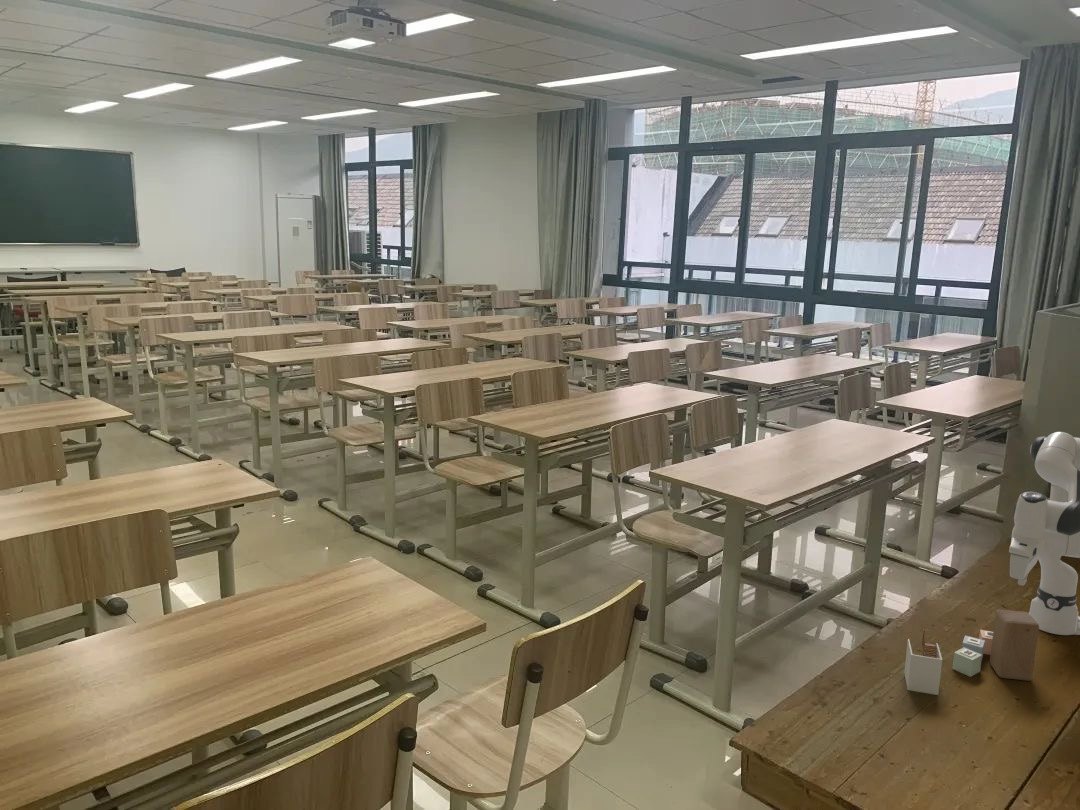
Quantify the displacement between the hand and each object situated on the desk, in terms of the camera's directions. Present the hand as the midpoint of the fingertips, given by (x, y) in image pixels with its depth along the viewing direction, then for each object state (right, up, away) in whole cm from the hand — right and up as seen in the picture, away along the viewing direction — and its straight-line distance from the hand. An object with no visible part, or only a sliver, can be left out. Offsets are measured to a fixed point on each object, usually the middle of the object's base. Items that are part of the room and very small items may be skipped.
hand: (1021, 583), depth 252 cm
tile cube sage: (-14, -30, +8) cm, 34 cm away
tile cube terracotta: (+1, -28, +20) cm, 34 cm away
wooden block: (0, -31, +6) cm, 31 cm away
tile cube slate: (-7, -29, +16) cm, 34 cm away
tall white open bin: (-33, -33, 0) cm, 46 cm away
